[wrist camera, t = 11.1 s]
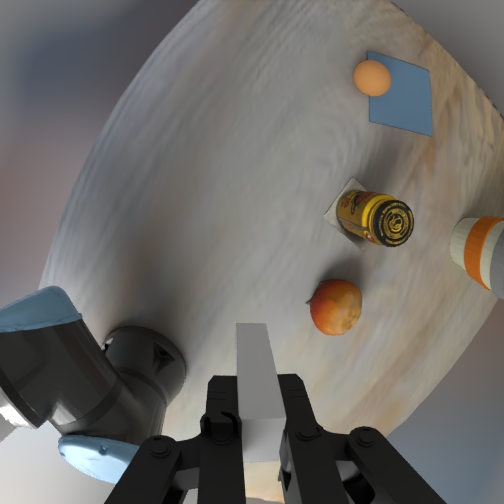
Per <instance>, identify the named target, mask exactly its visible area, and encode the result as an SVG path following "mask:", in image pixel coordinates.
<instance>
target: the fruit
mask: <svg viewBox="0 0 504 504" xmlns="http://www.w3.org/2000/svg"><path fill="white" fill-rule="evenodd" d="M306 304H309V305H310V312H311V316H312V319H313V322H314V324H315V325H316V327H317V329H318V330H320V331H321V332H323V333H324V334H327V335H333V336H334V335H342V334H344V333H346V332H347V331H348V330H350V329H351V328H352V327H353V326H354V325H355V324H356V323H357V321H358V319H359V317H360V315H361V308H362V294H361V292H360V290H359V288H357V287H356V286H355V285H353V284H352V283H350V282H347V281H343V280H328V281H325V282H319V286H318V288H317V289H316V291H315V292H314V295H313V298H312V300H311V301H310V302H309V303H306Z"/></svg>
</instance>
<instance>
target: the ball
mask: <svg viewBox="0 0 504 504" xmlns="http://www.w3.org/2000/svg"><path fill="white" fill-rule="evenodd" d="M353 79H354V82H355V85H356V86H357V88H358V89H359V90H360V91H361V92H363V93H364V94H366V95H369V96H381V95H383V94H385V93H386V92H387V91H388V90H389V88H390V86H391V75H390V73H389V71H388V69H387V68H386V67H385V66H384V65H383V64H381V63H380V62H377V61H374V60H366V61H363V62H361V63H359V64H358V65H357V66H356V68H355V70H354V73H353Z"/></svg>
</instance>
